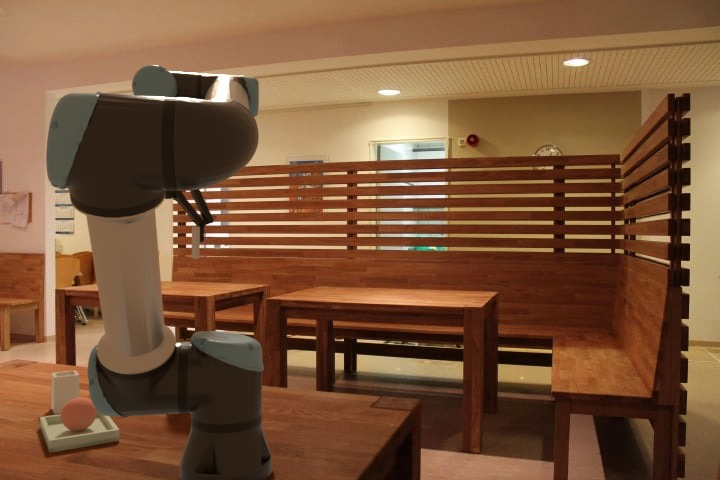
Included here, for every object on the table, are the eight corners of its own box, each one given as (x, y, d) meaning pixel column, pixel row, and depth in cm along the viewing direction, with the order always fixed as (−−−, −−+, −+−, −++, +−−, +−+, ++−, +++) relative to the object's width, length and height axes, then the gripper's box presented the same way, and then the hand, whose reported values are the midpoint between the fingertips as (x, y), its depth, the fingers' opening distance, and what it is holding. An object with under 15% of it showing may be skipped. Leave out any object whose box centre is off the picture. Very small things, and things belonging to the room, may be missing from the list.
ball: (98, 432, 119) (99, 399, 119) (62, 437, 116) (63, 403, 116) (93, 423, 125) (93, 392, 125) (58, 428, 121) (59, 395, 121)
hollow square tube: (79, 410, 135) (79, 374, 135) (54, 414, 133) (54, 377, 133) (75, 405, 140) (75, 370, 140) (51, 408, 137) (51, 372, 137)
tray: (119, 441, 117) (119, 429, 117) (49, 452, 110) (49, 440, 110) (103, 418, 130) (103, 408, 130) (40, 427, 124) (40, 417, 124)
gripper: (216, 158, 131) (215, 257, 131) (91, 148, 117) (90, 258, 118) (229, 154, 125) (228, 258, 125) (98, 144, 111) (98, 260, 111)
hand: (161, 259), depth 121 cm, fingers open, 13 cm apart
